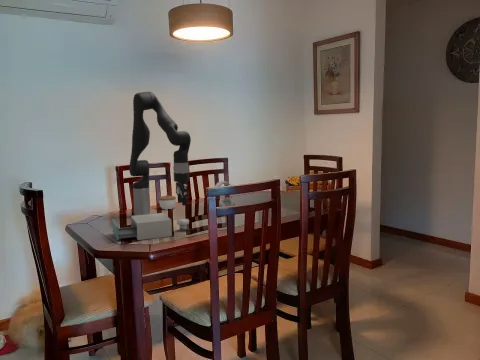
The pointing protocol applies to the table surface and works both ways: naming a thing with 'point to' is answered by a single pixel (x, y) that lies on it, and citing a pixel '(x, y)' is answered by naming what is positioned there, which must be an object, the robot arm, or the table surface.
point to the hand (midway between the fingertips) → (182, 204)
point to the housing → (152, 226)
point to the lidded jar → (167, 202)
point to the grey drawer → (123, 231)
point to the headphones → (225, 201)
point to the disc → (182, 221)
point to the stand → (183, 227)
